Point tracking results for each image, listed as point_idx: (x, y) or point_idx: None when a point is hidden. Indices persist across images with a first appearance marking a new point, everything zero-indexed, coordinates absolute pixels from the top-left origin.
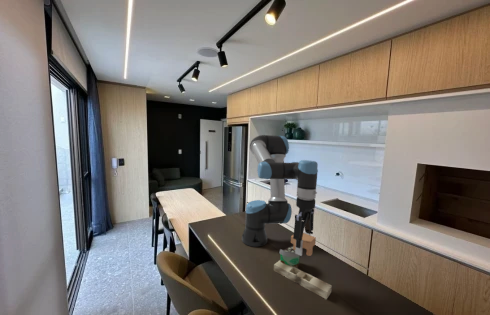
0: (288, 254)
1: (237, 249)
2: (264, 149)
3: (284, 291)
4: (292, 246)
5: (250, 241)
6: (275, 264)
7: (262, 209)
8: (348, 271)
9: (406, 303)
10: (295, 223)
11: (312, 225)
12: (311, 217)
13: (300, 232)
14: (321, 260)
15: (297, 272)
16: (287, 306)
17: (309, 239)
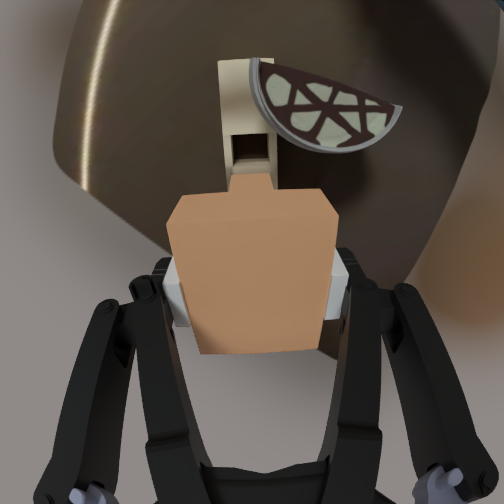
0: (262, 113)
1: None
2: None
3: (158, 163)
4: (358, 93)
5: None
6: (223, 64)
7: None
8: (405, 261)
9: None
10: (62, 433)
11: (395, 364)
12: (412, 438)
13: (121, 390)
14: (421, 180)
15: (268, 152)
16: (123, 205)
17: (251, 340)
